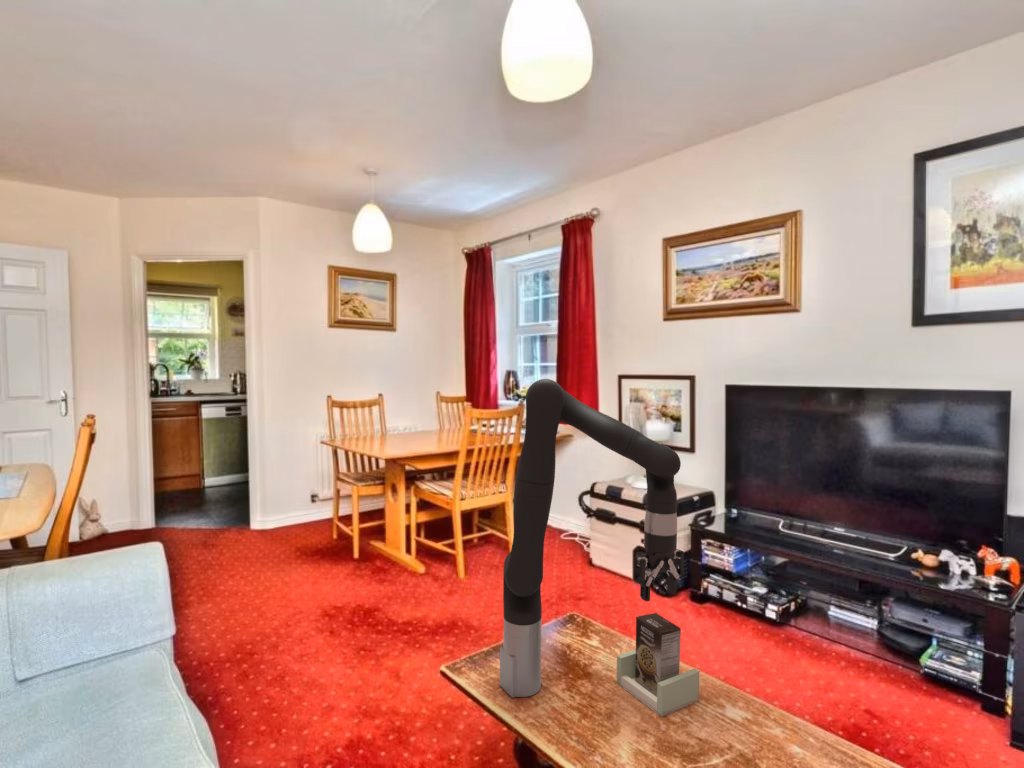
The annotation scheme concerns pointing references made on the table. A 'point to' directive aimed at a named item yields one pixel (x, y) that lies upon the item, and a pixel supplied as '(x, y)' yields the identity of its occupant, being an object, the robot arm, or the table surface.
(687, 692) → the caddy
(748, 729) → the table surface
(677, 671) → the coffee box
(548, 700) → the table surface
